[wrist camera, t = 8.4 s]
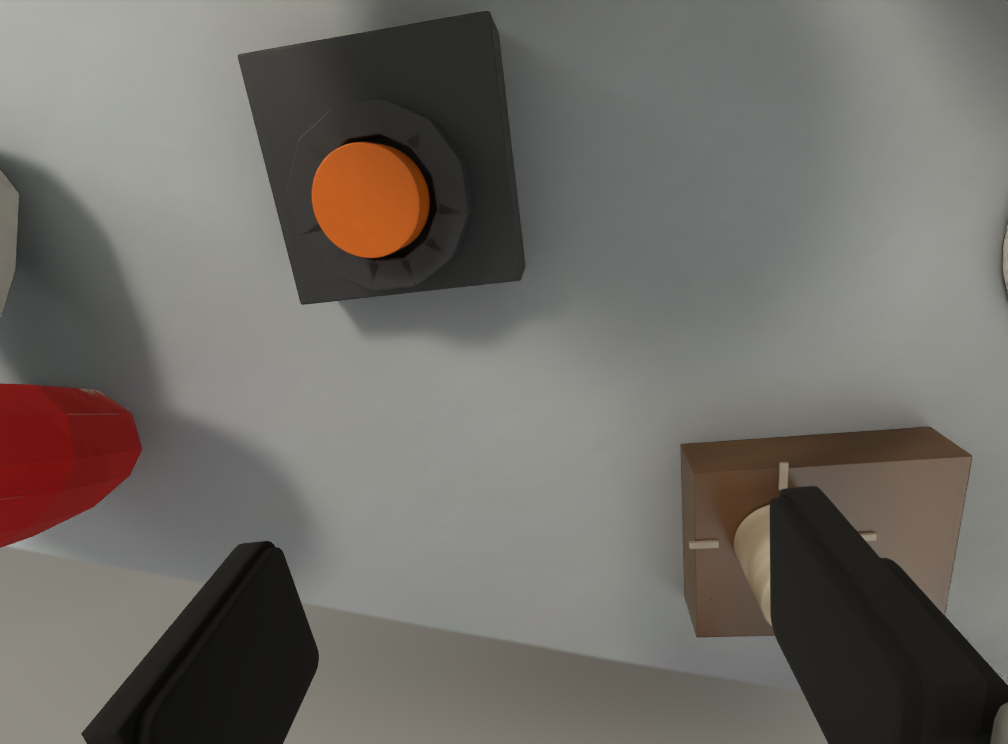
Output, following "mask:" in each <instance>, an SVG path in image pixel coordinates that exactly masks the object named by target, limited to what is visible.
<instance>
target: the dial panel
mask: <svg viewBox="0 0 1008 744" xmlns="http://www.w3.org/2000/svg"><path fill="white" fill-rule="evenodd" d="M971 461H972V455H970V454H969V453H968V452H966V451H965V450H963V449H962V448H960V447H959V446H957V445H956V444H954V443H953V442H952V441H950V440H949V439H947V438H946V437H944V436H943V435H941V434H940V433H939V432H937V431H936V430H934V429H933V428H931V427H920V428H905V429H891V430H877V431H862V432H848V433H834V434H820V435H805V436H791V437H777V438H762V439H748V440H734V441H720V442H705V443H691V444H681V474H682V515H683V556H684V597H685V600H686V604H687V607H688V610H689V614H690V617H691V621H692V624H693V627H694V631H695V634H696V637H733V636H772V635H775V634H774V631H773V627H772V626H771V625H770V624H769V623H768V622H767V620H766V619H765V617H764V616H763V613H762V611H761V609H760V607H759V605H758V603H757V600H756V598H755V596H754V594H753V592H752V590H751V587H750V585H749V583H748V581H747V579H746V577H745V574H744V572H743V570H742V568H741V566H740V564H739V561H738V559H737V557H736V554H735V551H734V537H735V534H736V531H737V529H738V527H739V526H740V524H741V523H742V521H743V520H744V519H745V518H746V517H747V516H748V515H750V514H751V513H752V512H754V511H756V510H757V509H759V508H762V507H764V506H767V505H770V500H771V499H772V498H779V494H780V491H781V490H782V489H786V488H796V487H806V486H817V487H819V488H820V489H821V490H822V491H823V493H824V494H825V495H826V496H827V497H828V498H829V499H830V501H831V502H832V503H833V504H834V505H835V506H836V507H837V509H838V510H839V511H840V512H841V513H842V514H843V515H844V517H845V518H846V519H847V520H848V521H849V522H850V524H851V525H852V526H853V527H854V528H855V529H856V530H857V532H858V533H859V534H860V535H861V536H862V537H863V538H864V540H865V541H866V542H867V543H868V544H869V545H870V546H871V548H872V549H873V550H874V551H875V552H876V553H877V554H878V556H879V557H880V558H888V559H891V560H893V561H894V562H896V563H897V564H898V565H899V566H900V567H901V568H902V569H903V570H904V571H905V572H906V573H907V575H908V576H909V577H910V578H911V579H912V580H913V581H914V582H915V583H916V585H917V586H918V587H919V588H920V589H921V590H922V591H923V592H924V593H925V594H926V596H927V597H928V598H929V599H930V600H931V601H932V602H933V603H934V604H935V606H936V607H937V608H938V609H939V610H940V611H941V612H942V613H943V614H944V615H945V612H946V606H947V600H948V594H949V589H950V583H951V577H952V571H953V566H954V560H955V554H956V548H957V542H958V537H959V531H960V525H961V519H962V513H963V508H964V502H965V496H966V490H967V484H968V479H969V473H970V467H971Z"/></svg>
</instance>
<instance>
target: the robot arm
mask: <svg viewBox="0 0 1008 744" xmlns="http://www.w3.org/2000/svg"><path fill="white" fill-rule="evenodd" d="M1003 275H1004V279H1005V284H1006V288H1007V293H1008V226H1007V230H1006V235H1005V239H1004V244H1003ZM770 615H771V623H772V627H773V631H774V634H775V637H776V639H777V641H778V643H779V645H780V647H781V649H782V651H783V653H784V655H785V657H786V659H787V661H788V663H789V665H790V667H791V669H792V671H793V673H794V675H795V677H796V679H797V681H798V683H799V685H800V687H801V689H802V691H803V693H804V695H805V697H806V699H807V701H808V703H809V706H810V708H811V710H812V712H813V713H814V716H815V717H816V719H817V722H818V724H819V726H820V728H821V730H822V732H823V734H824V736H825V738H826V740H827V742H828V744H1008V685H1007V684H1006V683H1005V682H1004V681H1003V680H1002V679H1001V677H1000V676H999V675H998V674H997V673H996V672H995V671H994V670H993V669H992V667H991V666H990V665H989V664H988V663H987V662H986V661H985V660H984V659H983V658H982V656H981V655H980V654H979V653H978V652H977V651H976V650H975V649H974V648H973V646H972V645H971V644H970V643H969V642H968V641H967V640H966V639H965V638H964V637H963V635H962V634H961V633H960V632H959V631H958V630H957V629H956V628H955V627H954V625H953V624H952V623H951V622H950V621H949V620H948V619H947V618H946V617H945V615H944V614H943V613H942V612H941V611H940V610H939V609H938V608H937V607H936V606H935V604H934V603H933V602H932V601H931V600H930V599H929V598H928V597H927V596H926V594H925V593H924V592H923V591H922V590H921V589H920V588H919V587H918V586H917V585H916V583H915V582H914V581H913V580H912V579H911V578H910V577H909V576H908V575H907V573H906V572H905V571H904V570H903V569H902V568H901V567H900V566H899V565H898V564H897V563H896V562H894V561H893V560H891V559H888V558H880V557H879V556H878V554H877V553H876V552H875V551H874V550H873V549H872V548H871V546H870V545H869V544H868V543H867V542H866V541H865V540H864V538H863V537H862V536H861V535H860V534H859V533H858V532H857V530H856V529H855V528H854V527H853V526H852V525H851V524H850V522H849V521H848V520H847V519H846V518H845V517H844V515H843V514H842V513H841V512H840V511H839V510H838V509H837V507H836V506H835V505H834V504H833V503H832V502H831V501H830V499H829V498H828V497H827V496H826V495H825V494H824V493H823V491H822V490H821V489H820V488H819V487H817V486H806V487H796V488H786V489H782V490H781V491H780V494H779V498H772V499H771V500H770ZM318 661H319V654H318V649H317V646H316V643H315V640H314V638H313V635H312V632H311V629H310V627H309V624H308V621H307V618H306V615H305V612H304V610H303V607H302V604H301V601H300V598H299V595H298V593H297V590H296V587H295V584H294V581H293V578H292V576H291V573H290V570H289V567H288V564H287V562H286V559H285V556H284V553H283V551H282V550H281V549H280V548H277V547H275V546H274V544H273V543H272V542H270V541H262V542H252V543H243V544H239V545H238V546H237V547H236V548H235V549H234V550H233V551H232V552H231V553H230V555H229V556H228V557H227V558H226V559H225V561H224V562H223V563H222V564H221V566H220V567H219V568H218V569H217V570H216V572H215V573H214V574H213V575H212V576H211V578H210V579H209V580H208V581H207V582H206V584H205V585H204V586H203V587H202V589H201V590H200V591H199V592H198V594H197V595H196V596H195V597H194V598H193V599H192V601H191V602H190V603H189V604H188V605H187V607H186V608H185V609H184V610H183V611H182V613H181V614H180V615H179V616H178V617H177V619H176V620H175V621H174V623H173V624H172V625H171V626H170V627H169V628H168V630H167V631H166V632H165V633H164V634H163V636H162V637H161V638H160V639H159V640H158V642H157V643H156V644H155V645H154V646H153V648H152V649H151V650H150V651H149V653H148V654H147V655H146V656H145V657H144V659H143V660H142V661H141V662H140V663H139V665H138V666H137V667H136V668H135V670H134V671H133V672H132V673H131V674H130V676H129V677H128V678H127V679H126V680H125V682H124V683H123V684H122V685H121V686H120V688H119V689H118V690H117V691H116V692H115V694H114V695H113V696H112V697H111V698H110V700H109V701H108V702H107V703H106V704H105V706H104V707H103V708H102V709H101V711H100V712H99V713H98V714H97V715H96V717H95V718H94V719H93V720H92V722H91V723H90V724H89V725H88V726H87V727H86V729H85V730H84V731H83V732H82V736H83V737H84V739H85V741H86V742H87V744H283V742H284V740H285V738H286V736H287V734H288V731H289V729H290V727H291V725H292V723H293V721H294V718H295V716H296V714H297V712H298V709H299V707H300V705H301V703H302V701H303V699H304V696H305V694H306V692H307V690H308V688H309V686H310V683H311V681H312V679H313V677H314V675H315V673H316V670H317V667H318Z"/></svg>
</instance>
